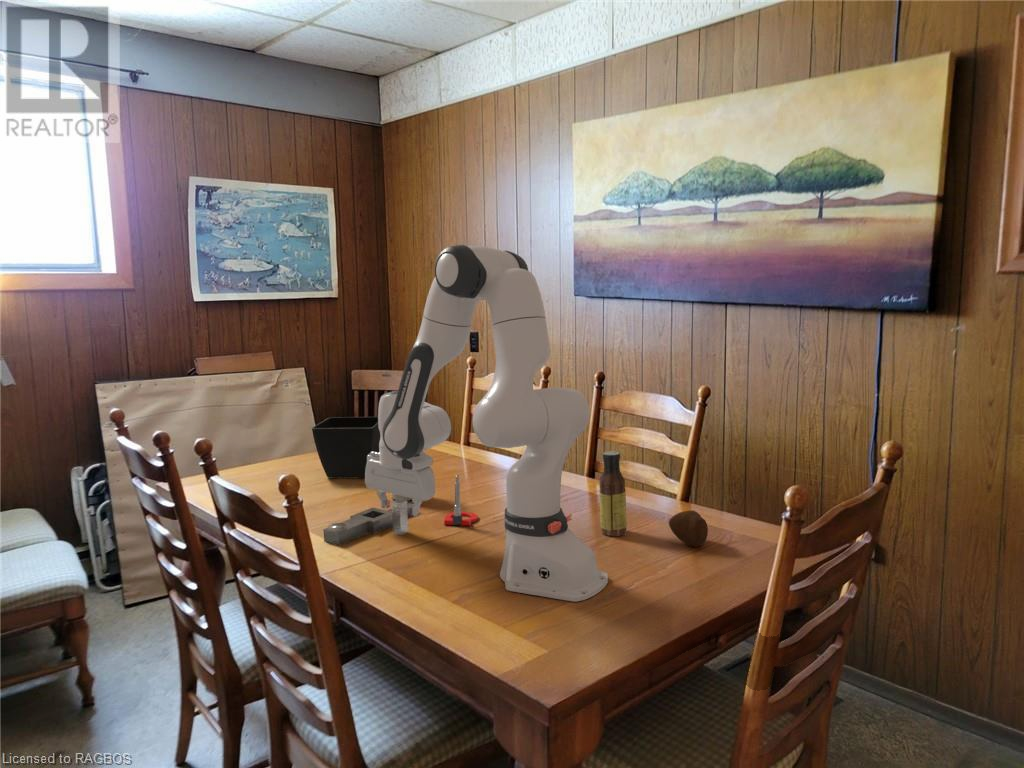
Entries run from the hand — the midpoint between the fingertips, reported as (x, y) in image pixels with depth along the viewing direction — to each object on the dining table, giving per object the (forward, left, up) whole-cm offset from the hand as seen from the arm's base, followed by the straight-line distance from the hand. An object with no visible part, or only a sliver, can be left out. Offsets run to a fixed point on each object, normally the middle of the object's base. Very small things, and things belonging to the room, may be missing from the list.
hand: (399, 511), depth 176 cm
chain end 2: (+9, -5, -5) cm, 11 cm away
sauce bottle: (-44, -27, -5) cm, 52 cm away
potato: (-62, -30, -6) cm, 69 cm away
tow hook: (-7, -15, -6) cm, 17 cm away
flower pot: (+50, -32, -6) cm, 59 cm away
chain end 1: (+9, +5, -5) cm, 11 cm away
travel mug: (+18, -22, -5) cm, 28 cm away
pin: (0, 0, -5) cm, 5 cm away
